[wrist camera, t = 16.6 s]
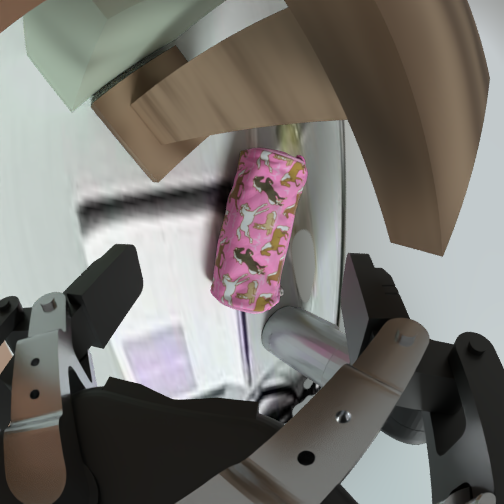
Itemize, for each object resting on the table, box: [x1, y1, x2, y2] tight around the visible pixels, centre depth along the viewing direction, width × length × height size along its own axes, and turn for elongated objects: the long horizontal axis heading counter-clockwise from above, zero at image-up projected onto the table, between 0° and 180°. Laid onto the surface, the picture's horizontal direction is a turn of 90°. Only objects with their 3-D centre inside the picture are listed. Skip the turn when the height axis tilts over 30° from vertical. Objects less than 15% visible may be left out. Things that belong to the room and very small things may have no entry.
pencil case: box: [211, 148, 308, 314], centre depth 39 cm, size 21×9×9 cm, turn 163°
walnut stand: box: [91, 0, 490, 256], centre depth 19 cm, size 16×12×32 cm
